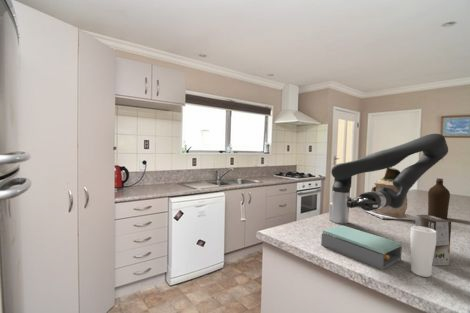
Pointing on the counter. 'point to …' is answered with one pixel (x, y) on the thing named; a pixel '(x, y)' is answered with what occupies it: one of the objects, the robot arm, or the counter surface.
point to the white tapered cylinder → (422, 250)
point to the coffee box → (438, 236)
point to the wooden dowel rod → (378, 252)
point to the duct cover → (363, 239)
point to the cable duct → (361, 252)
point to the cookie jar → (388, 211)
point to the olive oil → (438, 200)
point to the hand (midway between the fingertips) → (349, 204)
